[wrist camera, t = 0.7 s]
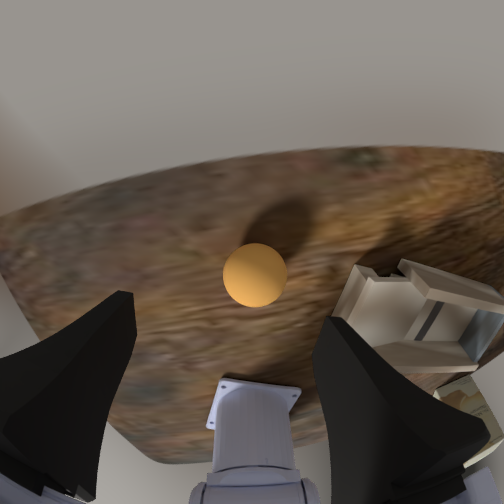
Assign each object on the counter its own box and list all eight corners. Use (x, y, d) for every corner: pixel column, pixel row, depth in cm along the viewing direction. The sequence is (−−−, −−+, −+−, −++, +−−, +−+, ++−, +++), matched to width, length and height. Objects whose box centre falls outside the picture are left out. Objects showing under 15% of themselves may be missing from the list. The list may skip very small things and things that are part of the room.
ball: (273, 291, 21) (279, 325, 17) (219, 279, 21) (215, 312, 17) (290, 241, 20) (300, 269, 16) (232, 227, 19) (229, 253, 15)
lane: (456, 344, 25) (474, 370, 21) (319, 330, 23) (331, 370, 19) (490, 285, 22) (515, 308, 18) (356, 245, 20) (382, 276, 16)
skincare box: (469, 372, 28) (508, 435, 17) (461, 390, 30) (494, 451, 19) (433, 389, 28) (469, 461, 17) (426, 406, 30) (456, 473, 19)
